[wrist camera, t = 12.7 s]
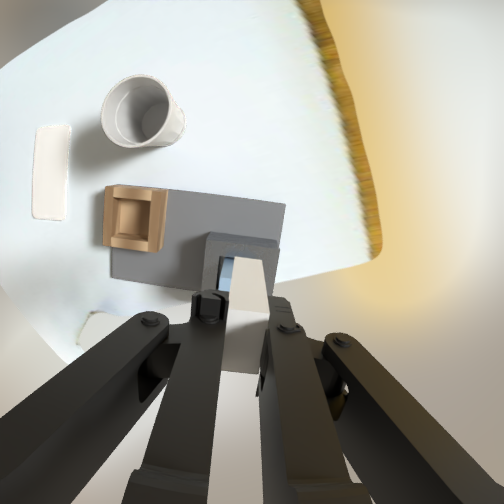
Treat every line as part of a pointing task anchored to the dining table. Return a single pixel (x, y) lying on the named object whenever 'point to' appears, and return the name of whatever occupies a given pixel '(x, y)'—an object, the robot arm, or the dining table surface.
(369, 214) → the dining table surface
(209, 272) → the port
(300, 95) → the dining table surface
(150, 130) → the cup
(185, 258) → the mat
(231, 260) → the plug
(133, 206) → the tan square frame
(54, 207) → the smartphone
